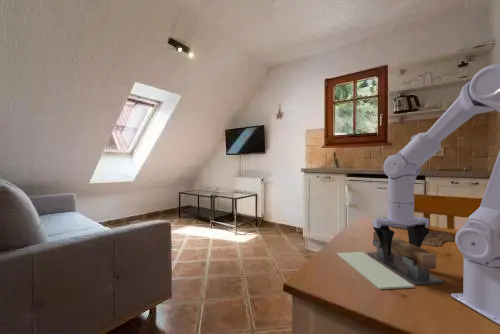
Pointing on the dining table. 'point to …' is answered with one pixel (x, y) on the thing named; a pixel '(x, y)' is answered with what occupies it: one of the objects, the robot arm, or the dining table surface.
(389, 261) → the rack
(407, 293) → the dining table surface
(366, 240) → the dining table surface
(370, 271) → the mat
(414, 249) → the rail
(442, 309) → the dining table surface
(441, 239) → the wooden fragment
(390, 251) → the robot arm
